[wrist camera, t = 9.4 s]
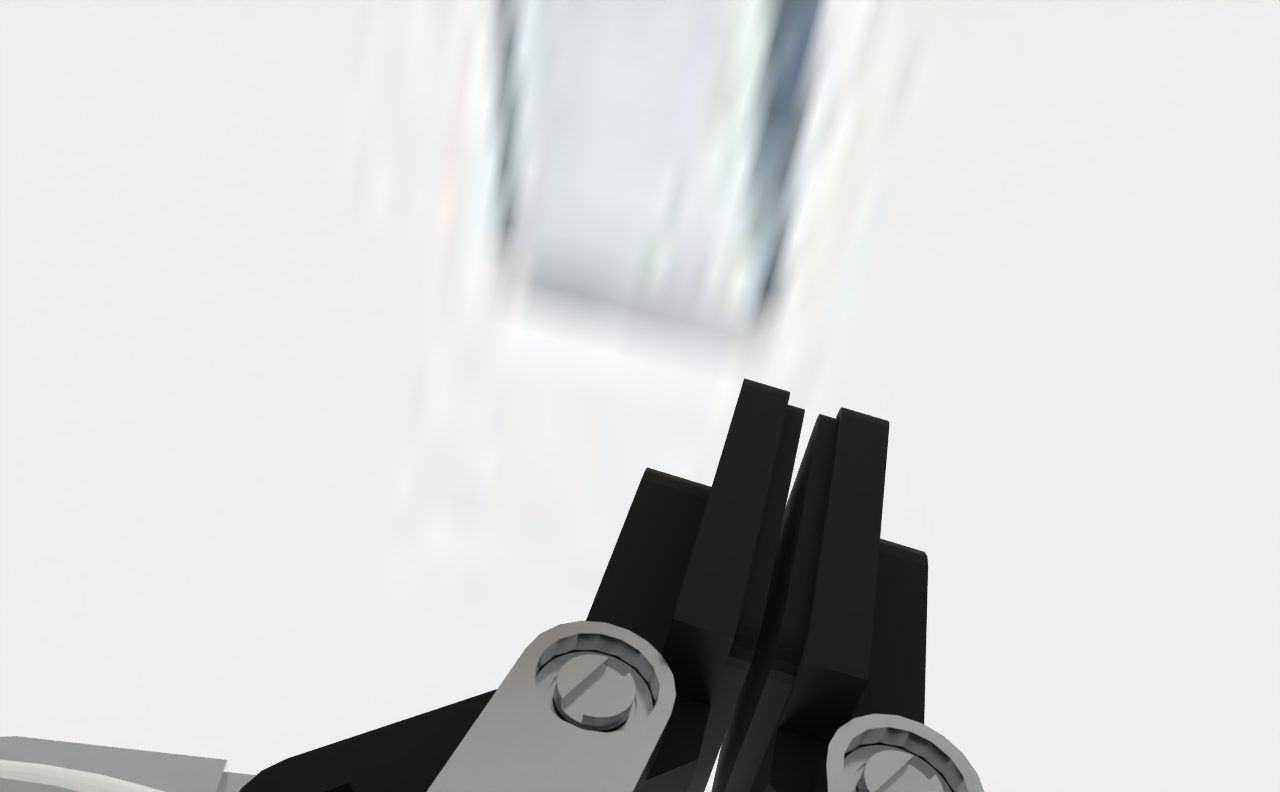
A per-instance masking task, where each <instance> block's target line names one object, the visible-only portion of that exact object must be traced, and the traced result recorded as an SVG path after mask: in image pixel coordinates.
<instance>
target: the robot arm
mask: <svg viewBox="0 0 1280 792" xmlns="http://www.w3.org/2000/svg"><path fill="white" fill-rule="evenodd" d="M789 396H790V392H788V391H785V390H782V389H778V388H775V387H771V386H768V385H765V384H761V383H758V382H755V381H751V380H748V379H744V381H743V384H742V388H741V391H740V394H739V398H738V401H737V405H736V408H735V411H734V415H733V418H732V421H731V425H730V428H729V431H728V435H727V438H726V441H725V445H724V448H723V451H722V455H721V458H720V461H719V465H718V468H717V471H716V475H715V478H714V481H713V485H712V487H709V486H706V485H703V484H700V483H696V482H693V481H690V480H686V479H683V478H680V477H677V476H673V475H670V474H667V473H664V472H660V471H657V470H654V469H650V468H647V469H646V470H645V472H644V475H643V477H642V479H641V482H640V484H639V487H638V489H637V492H636V495H635V497H634V500H633V502H632V505H631V507H630V510H629V512H628V515H627V518H626V520H625V523H624V525H623V528H622V530H621V533H620V535H619V538H618V540H617V543H616V546H615V548H614V551H613V553H612V556H611V558H610V561H609V563H608V566H607V569H606V571H605V574H604V576H603V579H602V581H601V584H600V586H599V589H598V591H597V594H596V597H595V599H594V602H593V604H592V607H591V609H590V612H589V614H588V617H587V620H586V621H578V622H572V623H566V624H560V625H558V626H556V627H554V628H551V629H549V630H547V631H545V632H543V633H541V634H540V635H539V636H538V637H537V638H536V639H535V640H534V641H533V642H532V643H531V644H530V645H529V646H528V647H527V648H526V649H525V650H524V652H523V653H522V655H521V656H520V658H519V659H518V660H517V662H516V663H515V665H514V666H513V668H512V669H511V671H510V672H509V673H508V675H507V676H506V678H505V679H504V681H503V682H502V684H501V685H500V686H499V688H498V689H496V690H493V691H490V692H487V693H484V694H481V695H478V696H475V697H472V698H469V699H466V700H463V701H460V702H457V703H454V704H451V705H448V706H445V707H442V708H439V709H436V710H433V711H430V712H427V713H424V714H421V715H418V716H415V717H412V718H408V719H405V720H402V721H399V722H396V723H393V724H390V725H387V726H384V727H381V728H378V729H375V730H372V731H369V732H366V733H363V734H360V735H357V736H354V737H351V738H348V739H345V740H342V741H339V742H336V743H333V744H330V745H327V746H324V747H321V748H318V749H315V750H312V751H309V752H306V753H303V754H300V755H297V756H294V757H291V758H288V759H285V760H283V761H281V762H279V763H277V764H275V765H273V766H271V767H269V768H267V769H264V770H262V771H261V772H260V773H259V774H257V775H249V774H240V773H231V772H227V760H222V759H214V758H205V757H196V756H187V755H178V754H169V753H160V752H151V751H142V750H134V749H125V748H116V747H107V746H98V745H89V744H80V743H71V742H62V741H54V740H45V739H36V738H27V737H18V736H11V737H0V792H704V791H705V788H706V785H707V782H708V780H709V777H710V774H711V771H712V769H713V766H714V763H715V761H716V758H717V755H718V752H719V750H720V747H721V750H720V755H719V759H718V764H717V769H716V773H715V778H714V783H713V787H712V792H984V790H983V787H982V785H981V782H980V779H979V777H978V774H977V773H976V771H975V770H974V768H973V767H972V765H971V764H970V763H969V761H968V760H967V758H966V757H965V756H964V754H963V753H962V752H961V751H960V750H959V749H957V748H956V747H955V746H954V745H953V744H952V743H951V742H950V741H949V740H947V739H946V738H945V737H944V736H943V735H941V734H939V733H937V732H936V731H934V730H932V729H931V728H929V727H927V726H925V725H924V707H925V667H926V626H927V586H928V559H927V555H926V553H925V552H923V551H919V550H916V549H913V548H910V547H906V546H903V545H900V544H896V543H893V542H890V541H887V540H883V539H880V532H881V520H882V508H883V496H884V483H885V471H886V459H887V447H888V435H889V422H888V421H886V420H883V419H880V418H876V417H873V416H870V415H866V414H863V413H859V412H856V411H853V410H849V409H846V408H843V407H841V409H840V410H839V412H838V414H837V417H836V419H835V418H831V417H828V416H825V415H821V414H819V416H818V418H817V420H816V423H815V426H814V428H813V431H812V434H811V437H810V440H809V443H808V445H807V448H806V451H805V454H804V457H803V460H802V462H801V465H800V468H799V471H798V474H797V477H796V480H795V482H794V485H793V488H792V491H791V494H790V497H789V499H788V502H787V497H788V492H789V487H790V482H791V477H792V472H793V467H794V462H795V457H796V453H797V448H798V443H799V438H800V433H801V428H802V423H803V418H804V413H805V410H804V409H801V408H798V407H794V406H791V405H788V400H789ZM786 502H787V505H786ZM785 507H786V508H785ZM721 744H722V746H721Z"/></svg>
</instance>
